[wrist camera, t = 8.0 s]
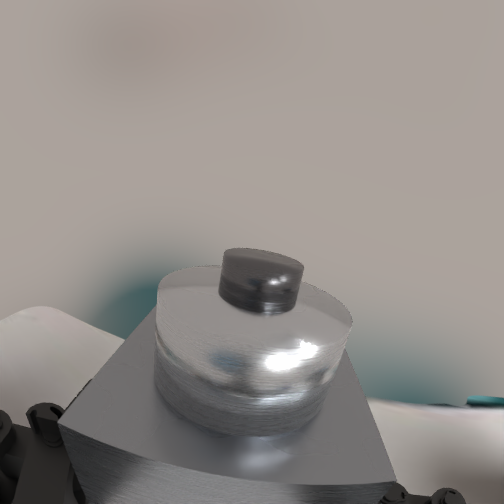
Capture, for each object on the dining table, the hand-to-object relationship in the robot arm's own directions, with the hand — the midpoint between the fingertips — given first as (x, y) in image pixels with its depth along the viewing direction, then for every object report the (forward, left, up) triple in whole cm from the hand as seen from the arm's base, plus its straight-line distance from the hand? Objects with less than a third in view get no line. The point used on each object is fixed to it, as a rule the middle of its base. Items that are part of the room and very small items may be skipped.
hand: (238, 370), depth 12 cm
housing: (+4, +4, -8) cm, 9 cm away
